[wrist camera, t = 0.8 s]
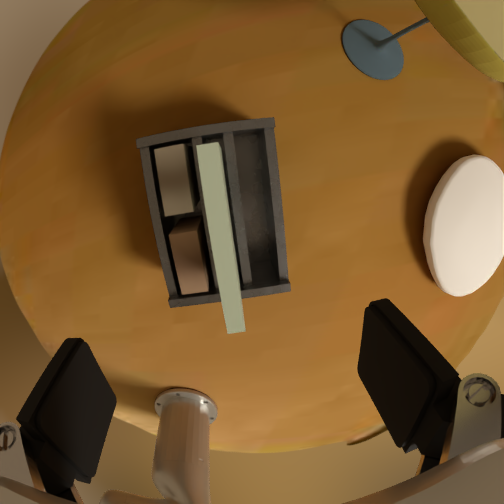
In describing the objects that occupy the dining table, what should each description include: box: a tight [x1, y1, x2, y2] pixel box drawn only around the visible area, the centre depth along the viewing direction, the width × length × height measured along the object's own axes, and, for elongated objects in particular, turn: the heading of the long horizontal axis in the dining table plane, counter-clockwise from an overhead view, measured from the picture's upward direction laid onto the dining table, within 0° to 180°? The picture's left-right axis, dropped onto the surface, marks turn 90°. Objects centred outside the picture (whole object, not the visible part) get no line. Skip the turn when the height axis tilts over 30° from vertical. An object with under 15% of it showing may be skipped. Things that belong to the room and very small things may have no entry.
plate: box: [423, 155, 504, 296], centre depth 39 cm, size 28×6×27 cm
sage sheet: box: [196, 142, 246, 334], centre depth 28 cm, size 14×1×18 cm, turn 7°
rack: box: [136, 117, 291, 308], centre depth 33 cm, size 19×14×9 cm
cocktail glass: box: [342, 0, 504, 82], centre depth 19 cm, size 18×18×25 cm
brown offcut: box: [154, 144, 200, 216], centre depth 31 cm, size 7×3×8 cm, turn 7°
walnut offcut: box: [169, 215, 211, 295], centre depth 34 cm, size 7×3×8 cm, turn 7°
